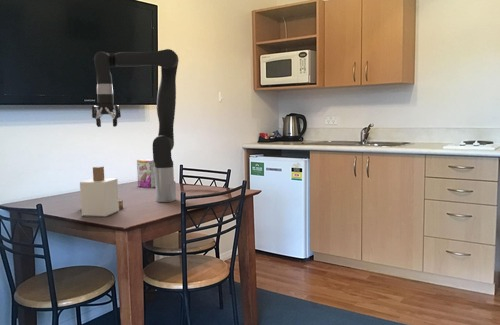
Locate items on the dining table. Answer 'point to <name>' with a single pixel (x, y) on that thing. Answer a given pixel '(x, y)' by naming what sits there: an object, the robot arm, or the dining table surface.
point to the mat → (98, 216)
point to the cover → (99, 194)
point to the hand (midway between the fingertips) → (106, 126)
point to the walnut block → (120, 204)
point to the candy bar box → (146, 173)
